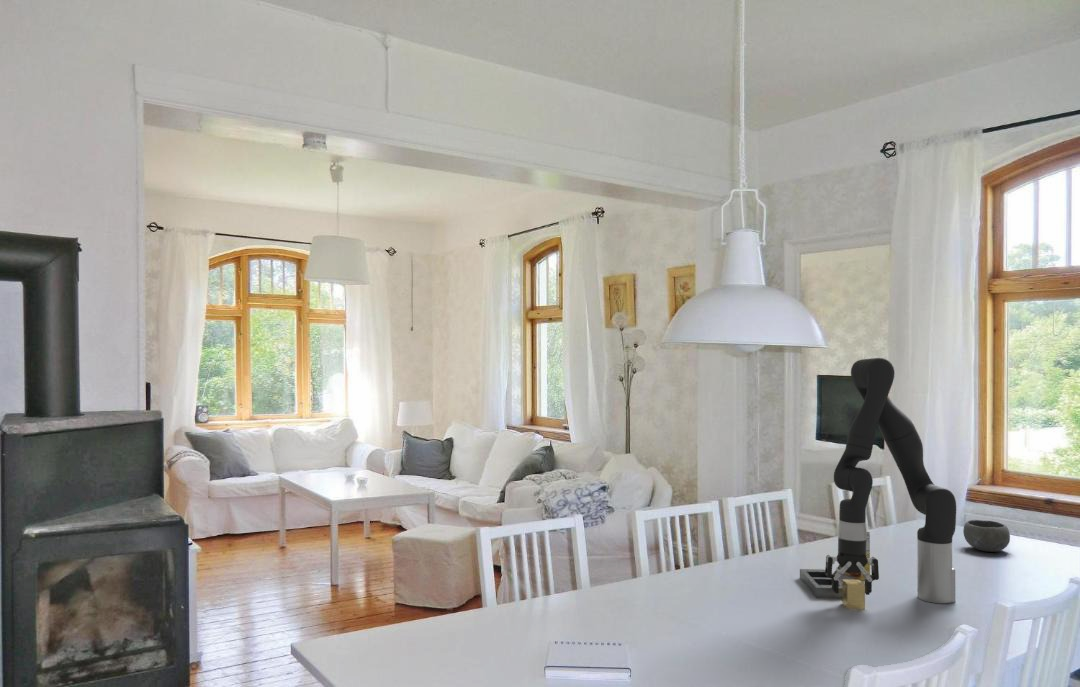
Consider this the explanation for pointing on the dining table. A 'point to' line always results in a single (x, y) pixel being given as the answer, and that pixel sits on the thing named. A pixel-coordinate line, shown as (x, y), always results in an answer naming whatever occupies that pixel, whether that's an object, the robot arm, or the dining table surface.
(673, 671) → the dining table surface
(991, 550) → the bowl
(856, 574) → the candy box
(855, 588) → the brass block
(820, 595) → the steel rectangular frame
